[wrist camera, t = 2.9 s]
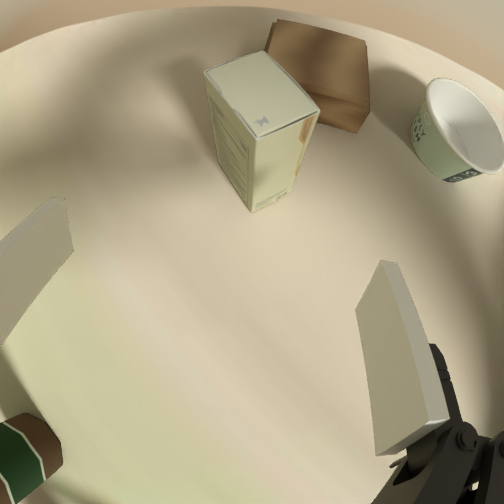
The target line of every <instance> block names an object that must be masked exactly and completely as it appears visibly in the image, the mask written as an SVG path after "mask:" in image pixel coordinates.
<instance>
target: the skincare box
mask: <svg viewBox="0 0 504 504" xmlns="http://www.w3.org/2000/svg"><path fill="white" fill-rule="evenodd" d="M204 79H205V85H206V91H207V97H208V103H209V109H210V115H211V121H212V127H213V133H214V138H215V144H216V150H217V156H218V162H219V164H220V166H221V167H222V169H223V171H224V172H225V174H226V176H227V177H228V179H229V180H230V182H231V184H232V185H233V187H234V188H235V190H236V191H237V193H238V194H239V196H240V197H241V199H242V200H243V202H244V203H245V205H246V206H247V208H248V209H249V210H250V212H251V213H253V212H255V211H257V210H259V209H261V208H263V207H265V206H267V205H269V204H270V203H272V202H274V201H276V200H278V199H279V198H281V197H283V196H284V195H286V194H288V193H289V192H290V191H291V189H292V186H293V184H294V181H295V178H296V176H297V173H298V170H299V167H300V165H301V162H302V160H303V157H304V154H305V152H306V149H307V146H308V143H309V141H310V138H311V135H312V133H313V130H314V127H315V124H316V122H317V119H318V116H319V113H320V109H319V108H318V106H317V105H316V104H315V102H314V101H313V100H312V99H311V98H310V96H309V95H308V94H307V93H306V92H305V91H304V90H303V88H302V87H301V86H300V85H299V84H298V83H297V82H296V81H295V80H294V79H293V78H292V77H291V76H290V75H289V74H288V73H287V72H286V71H285V70H284V69H283V68H282V67H281V66H280V65H279V64H278V63H277V62H276V61H275V60H274V59H273V58H271V57H270V56H269V55H268V54H267V53H266V52H265V51H263V50H261V51H258V52H255V53H252V54H248V55H245V56H242V57H239V58H236V59H233V60H230V61H227V62H224V63H221V64H219V65H216V66H214V67H211V68H209V69H206V70H205V71H204Z"/></svg>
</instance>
